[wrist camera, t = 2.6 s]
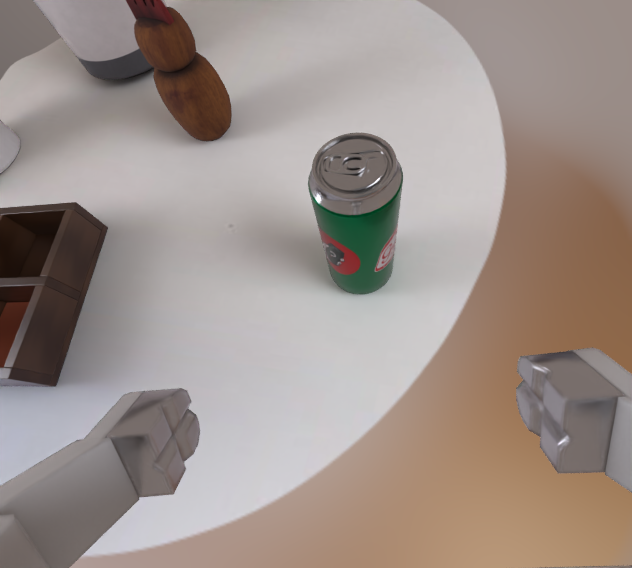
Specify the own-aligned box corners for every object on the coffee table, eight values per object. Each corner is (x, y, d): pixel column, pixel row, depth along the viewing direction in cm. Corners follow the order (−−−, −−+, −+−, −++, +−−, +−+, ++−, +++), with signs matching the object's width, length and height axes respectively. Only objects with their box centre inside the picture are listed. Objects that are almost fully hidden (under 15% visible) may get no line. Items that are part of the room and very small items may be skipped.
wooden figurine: (175, 128, 39) (69, -37, 25) (216, 100, 40) (135, -74, 26) (206, 159, 36) (106, -8, 23) (249, 128, 37) (177, -50, 24)
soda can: (390, 299, 27) (402, 205, 16) (326, 294, 28) (297, 203, 17) (393, 243, 29) (406, 125, 18) (334, 240, 30) (312, 127, 19)
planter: (185, 17, 48) (139, -85, 39) (180, 76, 43) (125, -27, 33) (100, 38, 49) (35, -56, 40) (85, 98, 44) (6, 5, 34)
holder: (56, 386, 28) (8, 379, 24) (-27, 385, 29) (-85, 378, 26) (108, 227, 34) (76, 201, 31) (38, 231, 36) (-1, 207, 32)
